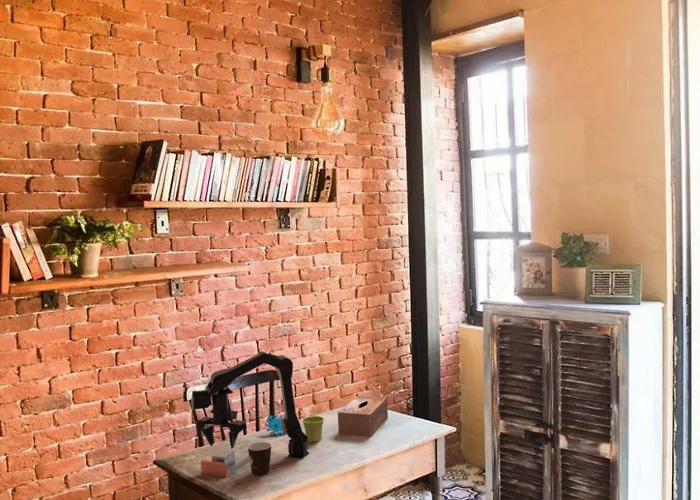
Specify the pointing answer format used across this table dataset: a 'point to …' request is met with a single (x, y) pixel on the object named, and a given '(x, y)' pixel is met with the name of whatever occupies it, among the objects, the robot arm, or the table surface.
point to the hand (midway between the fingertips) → (222, 447)
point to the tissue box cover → (362, 416)
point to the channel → (220, 467)
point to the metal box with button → (225, 457)
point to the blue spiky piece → (274, 425)
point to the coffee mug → (260, 458)
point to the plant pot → (313, 427)
